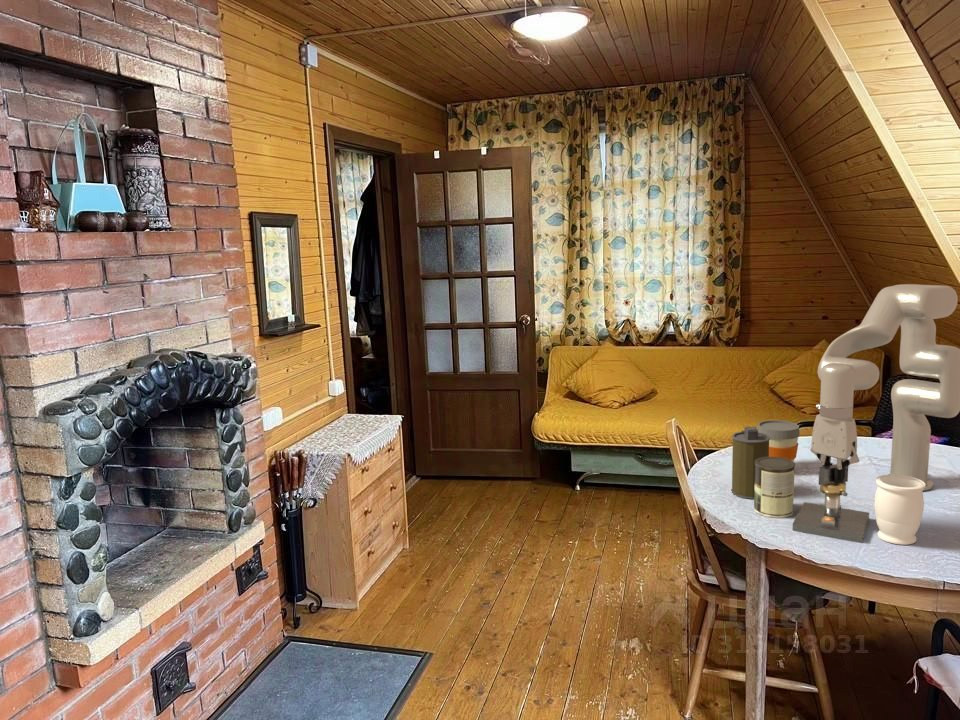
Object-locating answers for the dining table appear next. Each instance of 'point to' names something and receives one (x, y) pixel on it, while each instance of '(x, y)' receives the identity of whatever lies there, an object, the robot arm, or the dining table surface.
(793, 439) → the reusable coffee cup
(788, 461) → the coffee can
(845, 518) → the lever latch plate
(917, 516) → the jar
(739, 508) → the dining table surface
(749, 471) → the canister
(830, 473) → the latch lever
